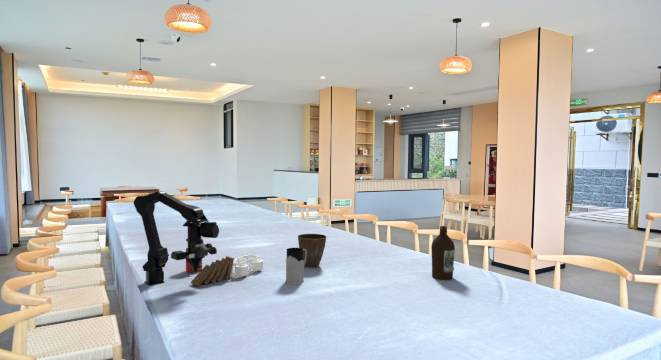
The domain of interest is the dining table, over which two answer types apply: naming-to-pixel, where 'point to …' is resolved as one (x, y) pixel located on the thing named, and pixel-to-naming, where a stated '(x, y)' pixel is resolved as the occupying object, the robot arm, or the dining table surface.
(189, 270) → the canned food
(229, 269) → the tile
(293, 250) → the tall mug
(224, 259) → the tile
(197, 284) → the tile
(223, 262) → the tile
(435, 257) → the olive oil
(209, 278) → the tile
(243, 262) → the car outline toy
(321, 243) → the plant pot
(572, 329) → the dining table surface
